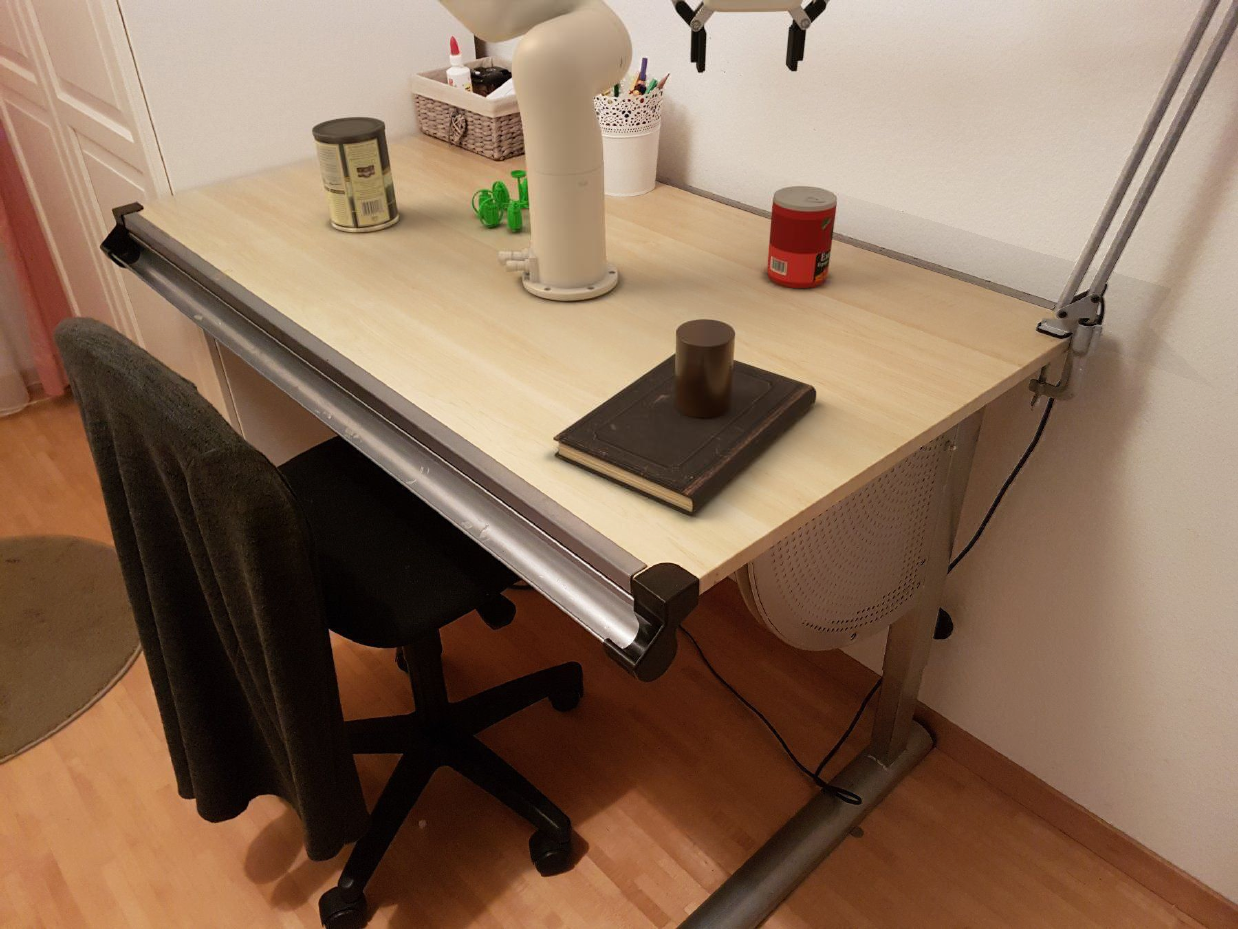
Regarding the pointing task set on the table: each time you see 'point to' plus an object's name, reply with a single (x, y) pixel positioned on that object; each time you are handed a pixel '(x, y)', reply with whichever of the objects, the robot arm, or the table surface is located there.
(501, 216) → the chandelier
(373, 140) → the coffee can
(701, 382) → the walnut cylinder
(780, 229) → the canned food
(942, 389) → the table surface
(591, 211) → the robot arm
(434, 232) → the table surface
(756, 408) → the hardcover book
